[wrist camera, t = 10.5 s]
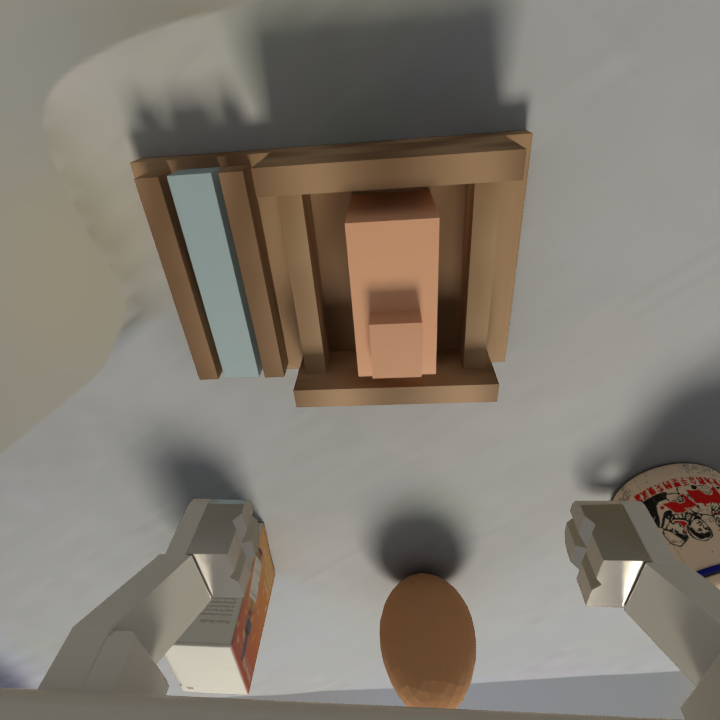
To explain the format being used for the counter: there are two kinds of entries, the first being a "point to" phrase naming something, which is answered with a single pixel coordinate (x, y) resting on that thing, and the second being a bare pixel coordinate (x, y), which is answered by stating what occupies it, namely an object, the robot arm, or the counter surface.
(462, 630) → the egg
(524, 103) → the counter surface
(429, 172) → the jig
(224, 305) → the plank
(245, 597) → the small box
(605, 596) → the robot arm
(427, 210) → the block
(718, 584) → the teacup with lid
